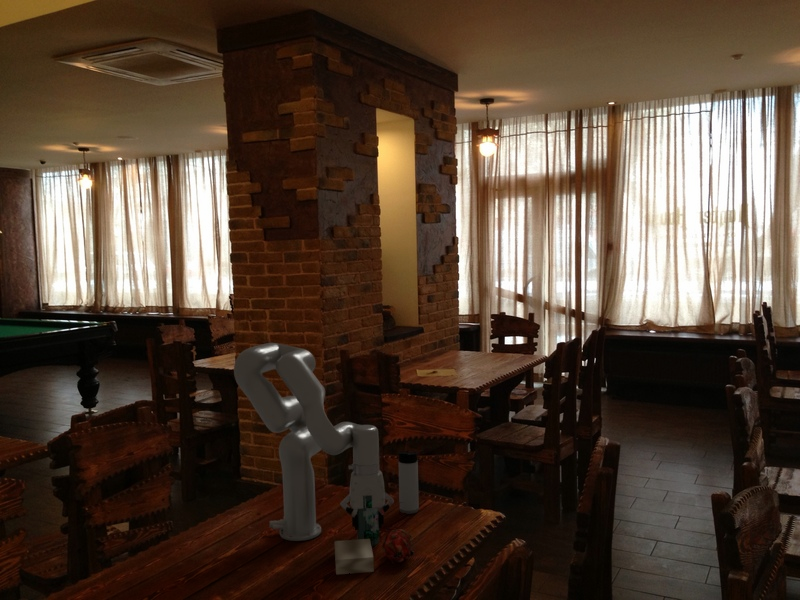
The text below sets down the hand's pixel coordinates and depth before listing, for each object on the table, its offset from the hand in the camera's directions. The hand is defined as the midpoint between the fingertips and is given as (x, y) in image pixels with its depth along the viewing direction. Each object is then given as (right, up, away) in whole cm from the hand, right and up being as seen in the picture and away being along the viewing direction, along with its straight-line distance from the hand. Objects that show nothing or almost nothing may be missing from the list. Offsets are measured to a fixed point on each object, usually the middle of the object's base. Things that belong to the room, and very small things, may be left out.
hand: (368, 527), depth 205 cm
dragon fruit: (+9, -5, -11) cm, 15 cm away
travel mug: (+12, -3, +24) cm, 27 cm away
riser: (-3, -6, -13) cm, 15 cm away
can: (0, -5, 0) cm, 5 cm away
